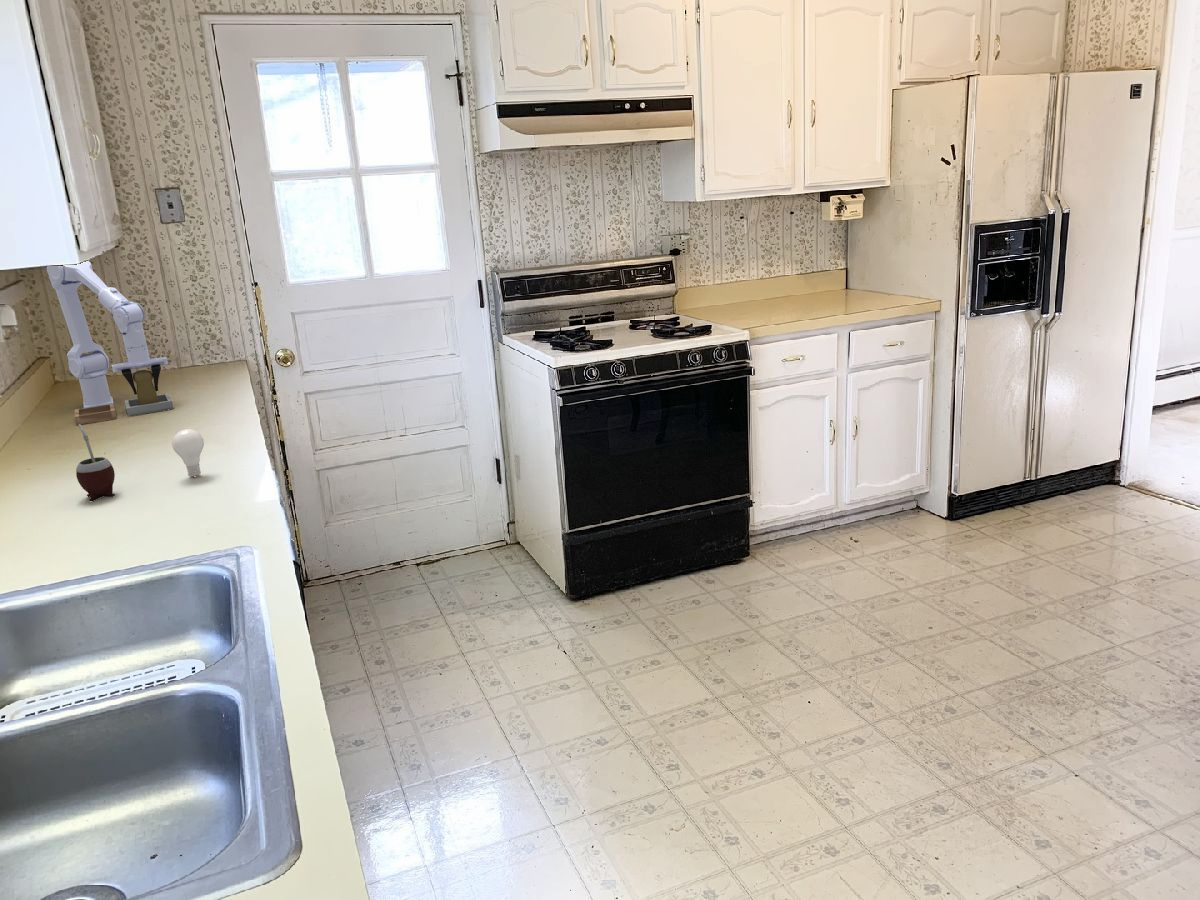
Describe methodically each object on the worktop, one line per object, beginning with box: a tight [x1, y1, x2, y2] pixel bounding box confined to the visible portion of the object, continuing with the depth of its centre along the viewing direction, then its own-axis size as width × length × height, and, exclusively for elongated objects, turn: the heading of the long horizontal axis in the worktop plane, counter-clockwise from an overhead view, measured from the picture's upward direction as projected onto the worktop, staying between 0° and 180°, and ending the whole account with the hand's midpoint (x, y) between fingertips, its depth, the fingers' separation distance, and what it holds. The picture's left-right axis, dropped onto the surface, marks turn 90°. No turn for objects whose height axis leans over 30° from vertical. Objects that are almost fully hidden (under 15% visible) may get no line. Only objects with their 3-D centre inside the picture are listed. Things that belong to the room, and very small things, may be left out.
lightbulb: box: [171, 428, 205, 478], centre depth 201 cm, size 6×6×11 cm
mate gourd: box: [75, 424, 116, 502], centre depth 192 cm, size 8×8×15 cm
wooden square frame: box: [74, 403, 117, 426], centre depth 259 cm, size 10×10×2 cm
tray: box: [124, 392, 174, 417], centre depth 267 cm, size 12×12×2 cm
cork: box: [132, 369, 159, 406], centre depth 265 cm, size 6×6×11 cm
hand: (146, 392), depth 265 cm, fingers closed on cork, 5 cm apart
